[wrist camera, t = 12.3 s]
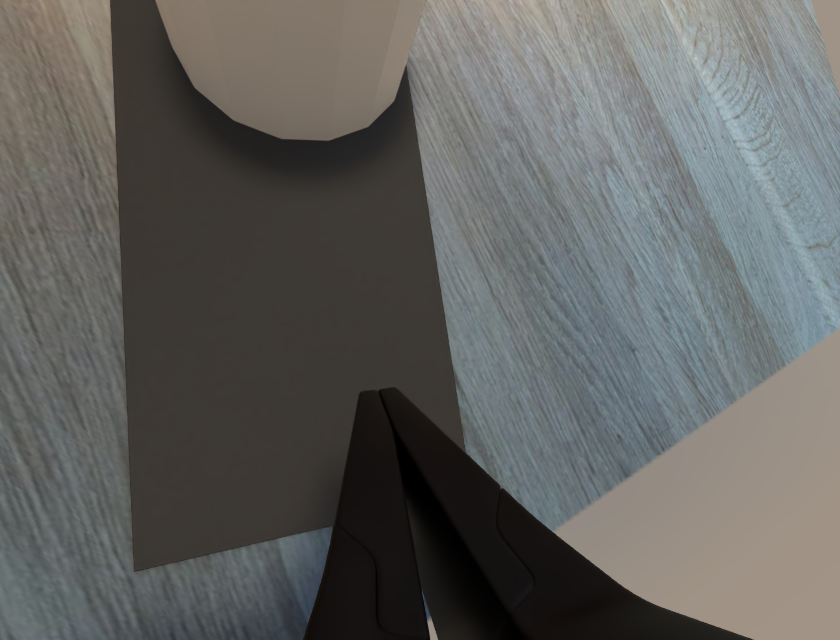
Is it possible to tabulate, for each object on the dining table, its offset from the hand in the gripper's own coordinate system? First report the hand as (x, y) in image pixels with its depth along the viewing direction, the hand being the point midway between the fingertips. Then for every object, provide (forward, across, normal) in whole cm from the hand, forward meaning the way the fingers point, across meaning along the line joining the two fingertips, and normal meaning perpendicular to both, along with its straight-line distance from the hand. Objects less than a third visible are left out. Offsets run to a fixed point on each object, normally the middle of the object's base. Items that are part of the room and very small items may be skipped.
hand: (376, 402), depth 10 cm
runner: (+16, +1, +2) cm, 17 cm away
